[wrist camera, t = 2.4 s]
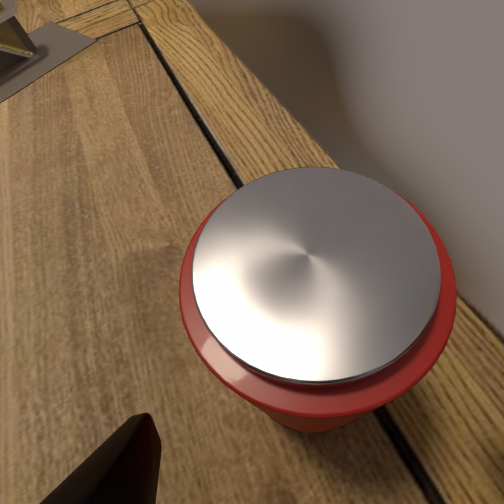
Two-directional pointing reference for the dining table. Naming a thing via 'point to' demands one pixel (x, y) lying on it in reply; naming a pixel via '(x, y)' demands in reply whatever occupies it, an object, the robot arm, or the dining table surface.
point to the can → (317, 295)
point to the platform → (32, 49)
